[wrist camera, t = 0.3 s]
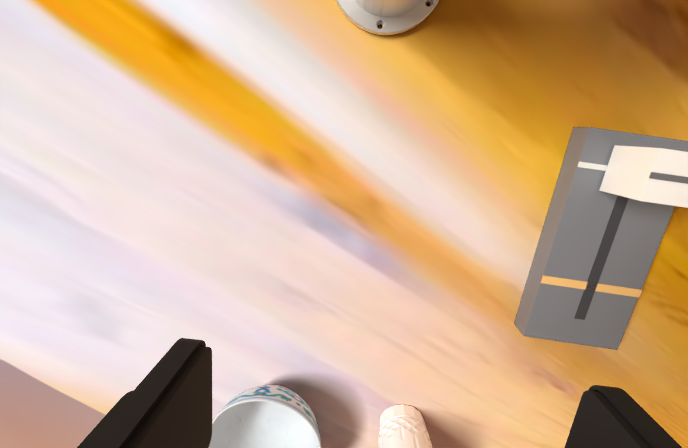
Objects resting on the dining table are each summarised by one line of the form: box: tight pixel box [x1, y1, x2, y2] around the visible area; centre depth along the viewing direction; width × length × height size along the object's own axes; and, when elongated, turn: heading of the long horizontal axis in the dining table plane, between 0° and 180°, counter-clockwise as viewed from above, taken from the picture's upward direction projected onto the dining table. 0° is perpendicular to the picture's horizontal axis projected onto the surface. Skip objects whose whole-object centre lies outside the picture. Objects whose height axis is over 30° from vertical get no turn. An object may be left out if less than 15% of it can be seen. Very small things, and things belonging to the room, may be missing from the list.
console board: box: [514, 127, 688, 350], centre depth 42 cm, size 26×12×3 cm, turn 172°
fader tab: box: [599, 145, 688, 208], centre depth 35 cm, size 5×6×6 cm
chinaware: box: [208, 385, 321, 448], centre depth 49 cm, size 15×15×8 cm
